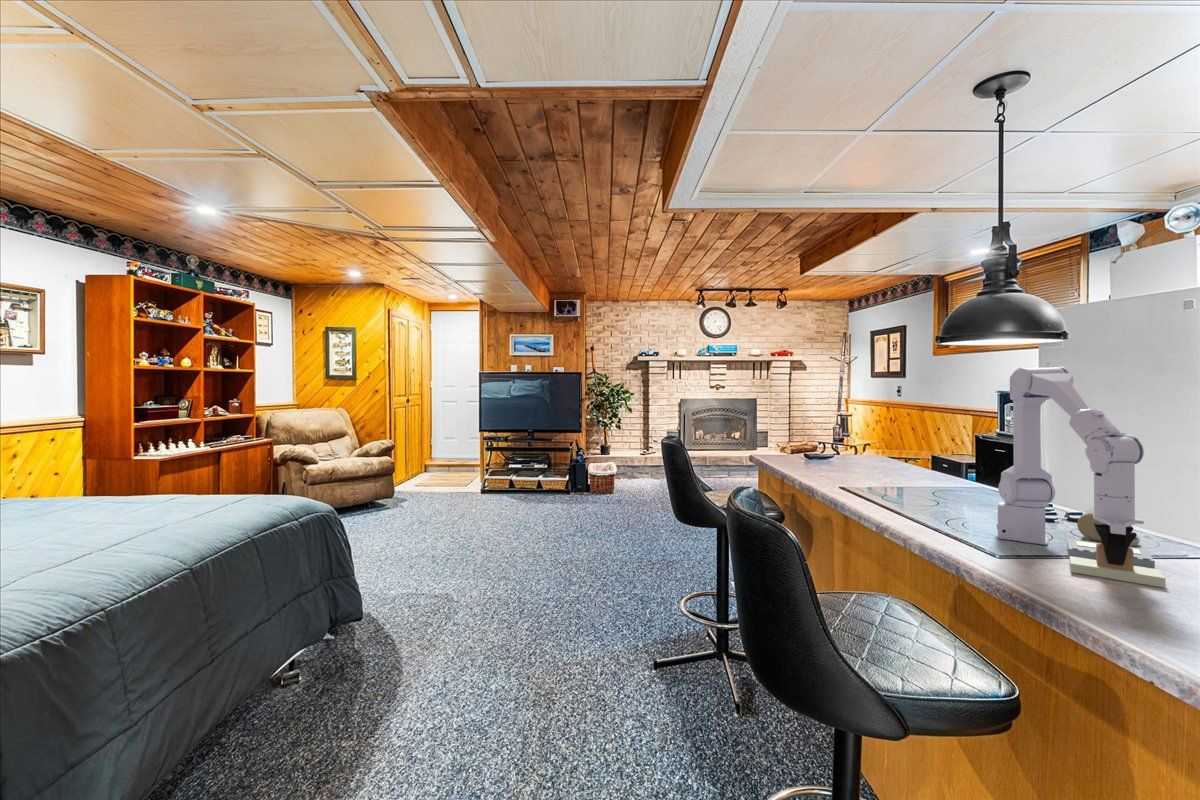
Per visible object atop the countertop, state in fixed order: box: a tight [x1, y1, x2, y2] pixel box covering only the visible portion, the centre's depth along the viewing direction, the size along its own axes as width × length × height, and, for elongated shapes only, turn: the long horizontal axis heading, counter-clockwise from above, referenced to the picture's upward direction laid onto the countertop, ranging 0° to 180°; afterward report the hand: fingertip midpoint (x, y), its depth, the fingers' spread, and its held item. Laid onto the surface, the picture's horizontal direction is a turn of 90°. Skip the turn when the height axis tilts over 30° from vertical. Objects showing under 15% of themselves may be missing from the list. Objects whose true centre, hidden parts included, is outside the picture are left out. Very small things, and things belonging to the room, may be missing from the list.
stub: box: [1069, 542, 1167, 588], centre depth 100 cm, size 13×6×6 cm, turn 48°
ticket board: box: [1066, 538, 1156, 569], centre depth 110 cm, size 13×10×2 cm
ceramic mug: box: [1077, 507, 1141, 547], centre depth 123 cm, size 11×8×8 cm
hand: (1114, 561), depth 100 cm, fingers closed on stub, 3 cm apart
